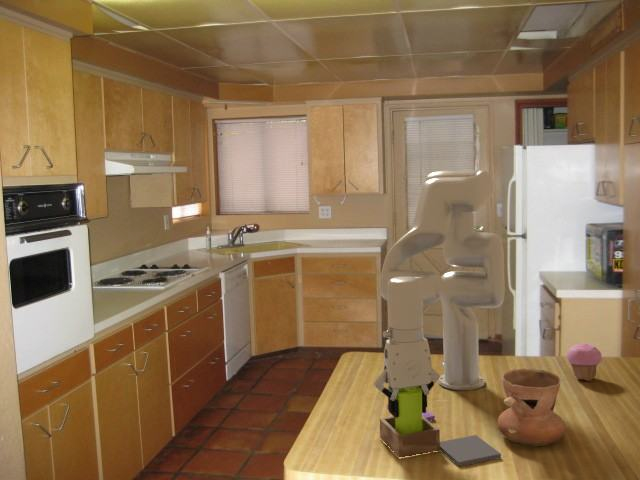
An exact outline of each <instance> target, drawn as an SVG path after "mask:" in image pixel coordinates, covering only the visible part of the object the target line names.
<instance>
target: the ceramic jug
mask: <svg viewBox="0 0 640 480" xmlns="http://www.w3.org/2000/svg"><path fill="white" fill-rule="evenodd" d="M501 380H502V381H501V382H502V385H503V389H504V393H505V396H506V398H505V399H504V401H503V404H505V406H509V408H506V410H504V411H502V412H501V413H500V415H499V416H498V418H497V428H498V429H499V432H500V433H501V434H502V436H503V437H505V438H506V439H507V440H510V441H511V442H514V443H516V444H520V445H525V446H530V447H531V446H532V447H535V446H536V447H537V446H539V447H541V446H547V445H552V444H554V443H556V442H558V441H560V440H561V439H562V438H563V437H564V435H565V433H566V430H567V427H566V424H565V421H564V419H562V417H561V416H560V415H558V414H557V413H556V412H555V411H554V410H555V406H556V401H557V396H558V394H559V392H560V388H561V378H560V376H558V375H557V374H555V373H553V372H551V371H548V370H544V369H536V368H519V369H511V370H508V371H506V372H504V373H503V374H502V376H501Z"/></svg>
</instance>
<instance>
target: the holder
mask: <svg viewBox="0 0 640 480" xmlns="http://www.w3.org/2000/svg"><path fill="white" fill-rule="evenodd" d="M440 436H441V433H440V428H438V427H437V426H436V425H435V424H434V423H432V421H429V420H427V419H426V418H425V417H424V416H422V431H419V432H414V433H408V434H403V435H400V434H399V433H398V432H397V431H396V430H395V417H394V416H393V415H391V416H387V417H386V416H385V417H381V418H379V438H381V439H382V440H383V441H384V442H385V443H386V444H387V446H389V447H390V449H391V450H392V451H394V453H395V454H396V455H397V456H398V457H405V456H412V455H416V454H423V453H428V452H433V451H439V450H440V442H441V437H440ZM387 446H386V447H387ZM390 449H389V450H390ZM391 450H390V451H391ZM392 451H391V452H392ZM394 453H393V454H394ZM395 454H394V455H395ZM396 455H395V456H396ZM397 456H396V457H397ZM398 457H397V458H398Z"/></svg>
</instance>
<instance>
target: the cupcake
mask: <svg viewBox="0 0 640 480" xmlns="http://www.w3.org/2000/svg"><path fill="white" fill-rule="evenodd" d="M566 358H567V361H568V362H569V363H570V366H571V369H572V372H573V375H574V377H575V379H577V380H582V381H583V380H584V381H587V382H588V381H589V382H590V381H592V380H593V379H594V378H595V377H596V374H597V366H598V365H600V363H602V360H603V359H602V351H600V349H598V348H597V347H596V346H595V345H594V344H592V343H577V344H574V345H572V346H571V347H569V349H568V350H567V353H566Z"/></svg>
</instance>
